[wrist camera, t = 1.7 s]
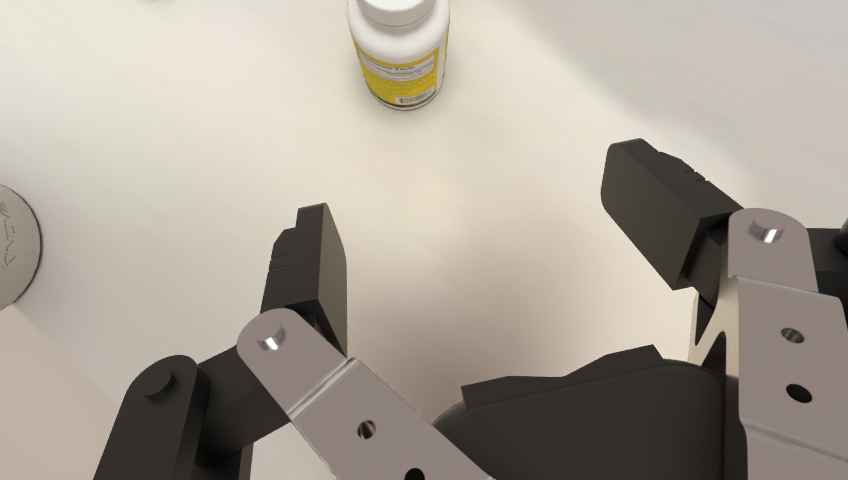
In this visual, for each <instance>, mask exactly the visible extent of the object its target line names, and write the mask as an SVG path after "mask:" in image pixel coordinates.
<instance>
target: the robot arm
mask: <svg viewBox="0 0 848 480" xmlns="http://www.w3.org/2000/svg"><path fill="white" fill-rule="evenodd" d="M601 200H602V204H603V207H604V209H605V210H606V212H607V213H608V214H609V215H610V216H611V218H612V219H613V220H614V221H615V222H616V224H617V225H618V226H619V227H620V228H621V230H622V231H623V232H624V233H625V234H626V235H627V237H628V238H629V239H630V240H631V241H632V243H633V244H634V245H635V246H636V247H637V249H638V250H639V251H640V252H641V253H642V254H643V256H644V257H645V258H646V259H647V260H648V262H649V263H650V264H651V265H652V266H653V268H654V269H655V270H656V271H657V272H658V273H659V275H660V276H661V277H662V278H663V279H664V281H665V282H666V283H667V284H668V285H669V287H670V288H671V289H672V290H673V291H674V290H678V289H683V288H688V287H692V286H693V287H694V288H695V289H696V290H697V293H696V295H695V297H694V301H693V311H692V322H691V333H690V344H689V355H688V360H687V362H684V361H679V360H671V359H663V358H662V357H661V355H660V354H659V352H658V351H657V349H656V348H655V346H654V345H653V344H652V345H648V346H643V347H639V348H634V349H630V350H625V351H620V352H616V353H611V354H607V355H605V356H603V357H601V358H599V359H597V360H595V361H593V362H591V363H589V364H587V365H585V366H584V367H582V368H580V369H578V370H576V371H574V372H572V373H570V374H568V375H566V376H563V377H529V376H506V377H502V378H497V379H493V380H488V381H484V382H479V383H474V384H470V385H465V386H461V390H462V396H463V401H462V402H460V403H458V404H456V405H454V406H453V407H451V408H450V409H448V410H447V411H446V412H444V413H443V414H442V415H441V416H440V417H439V418H438V419H436V420H435V421H434V423H433V424H432V425H431V424H430V423H429V422H428V421H427V420H426V419H424V418H423V417H422V416H421V415H420V414H419V413H418V412H417V411H415V410H414V409H413V408H412V407H411V406H410V405H409V404H408V403H407V402H405V401H404V400H403V399H402V398H401V397H400V396H399V395H398V394H397V393H395V392H394V391H393V390H392V389H391V388H390V387H389V386H388V385H386V384H385V383H384V382H383V381H382V380H381V379H380V378H379V377H378V376H376V375H375V374H374V373H373V372H372V371H371V370H370V369H369V368H367V367H366V366H365V365H364V364H363V363H362V362H360V361H359V360H358V359H356V358H351V359H350V360H348V359H347V268H346V257H345V252H344V248H343V245H342V242H341V239H340V236H339V234H338V231H337V228H336V226H335V223H334V220H333V217H332V215H331V212H330V209H329V207H328V205H327V204H326V203H321V204H317V205H312V206H307V207H302V208H299V209H298V213H297V220H296V227H295V228H290V229H285V230H283V232H282V233H281V234H280V236H279V237H278V239H277V240H276V241H275V243H274V245H273V250H272V255H271V259H272V260H270V265H269V272H268V275H267V280H266V285H265V290H264V295H263V300H262V305H261V310H260V315H258V316H257V317H255V318H254V319H252V320H251V321H250V322H249V323H248V324H247V325H246V326H245V327H244V329H243V330H242V331H241V333H240V335H239V337H238V340H237V345H235V346H234V347H232V348H230V349H228V350H226V351H224V352H222V353H220V354H218V355H216V356H214V357H212V358H210V359H208V360H206V361H204V362H201V363H199V364H197V363H196V362H195V361H194V360H193V359H191V358H190V357H188V356H184V355H174V356H170V357H167V358H164V359H161V360H159V361H157V362H155V363H154V364H152V365H151V366H149V367H148V368H146V369H145V370H144V371H143V372H142V373H140V374H139V375H138V377H137V378H136V379H135V380H134V381H133V382H132V384H131V385H130V387H129V388H128V390H127V392H126V394H125V397H124V399H123V402H122V404H121V407H120V410H119V412H118V415H117V418H116V420H115V423H114V426H113V428H112V431H111V433H110V436H109V439H108V441H107V444H106V447H105V449H104V452H103V455H102V457H101V460H100V462H99V465H98V468H97V471H96V473H95V476H94V479H93V480H250V472H251V463H252V454H253V444H254V442H255V441H257V440H259V439H261V438H262V437H264V436H266V435H268V434H270V433H271V432H273V431H275V430H277V429H279V428H280V427H282V426H284V425H286V424H288V423H289V422H291V423H292V424H293V425H294V426H295V428H296V429H297V430H298V431H299V432H300V434H301V435H302V436H303V437H304V439H305V440H306V441H307V442H308V444H309V445H310V446H311V447H312V449H313V450H314V451H315V452H316V454H317V455H318V456H319V457H320V459H321V460H322V461H323V462H324V463H325V465H326V466H327V467H328V468H329V470H330V471H331V472H332V473H333V475H334V476H335V477H336V478H337V480H848V219H847V220H846V222H845V223H844V225H843V226H842V228H841V229H828V228H805V227H804V226H803V225H802V224H801V223H800V222H798V221H797V220H795V219H794V218H792V217H790V216H788V215H786V214H783V213H780V212H777V211H773V210H769V209H762V208H747V209H744V208H743V207H742V206H740V205H739V204H738V203H737V202H735V201H734V200H733V199H731V198H730V197H729V196H728V195H726V194H725V193H724V192H722V191H721V190H720V189H718V188H717V187H716V186H715V185H713V184H712V183H711V182H709V181H705V178H704V177H703V176H702V175H700V174H699V173H698V172H694V169H692V168H691V167H690V166H689V165H687V164H686V163H685V162H683V161H682V160H681V159H679V158H676V157H674V156H671V155H668V154H666V153H663V152H658V151H657V150H656V149H655V148H653V147H652V146H651V145H650V144H648V143H647V142H646V141H645V140H643V139H641V138H638V139H633V140H628V141H623V142H619V143H614V144H612V145H610V147H609V148H608V151H607V156H606V162H605V168H604V174H603V180H602V186H601ZM39 254H40V234H39V230H38V226H37V222H36V220H35V218H34V216H33V214H32V212H31V210H30V208H29V207H28V206H27V204H26V203H25V202H24V201H23V200H22V199H21V197H19V196H18V195H17V194H15V193H14V192H13V191H11V190H10V189H9V188H6V187H4V186H2V185H0V311H1V310H2V309H4V308H5V307H7V306H8V305H10V304H11V303H13V302H14V301H15V300H16V298H17V297H18V296H19V295H20V294H21V293H22V292H23V291H24V290H25V288H26V287H27V285H28V284H29V282H30V281H31V279H32V277H33V274H34V272H35V270H36V267H37V265H38V259H39Z"/></svg>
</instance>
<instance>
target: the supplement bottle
mask: <svg viewBox="0 0 848 480" xmlns="http://www.w3.org/2000/svg"><path fill="white" fill-rule="evenodd" d="M347 19H348V24H349V28H350V32H351V35H352V38H353V41H354V45H355V48H356V51H357V54H358V58H359V61H360V64H361V67H362V71H363V74H364V77H365V80H366V83H367V85H368V87H369V89H370V91H371V92H372V94H373V95H374V96H375V97H376V98H377V99H378V100H379V101H380V102H382V103H383V104H385V105H387V106H389V107H392V108H395V109H401V110H408V109H414V108H417V107H420V106H422V105H424V104H426V103H427V102H429V101H430V100H431V99H432V98H433V97H434V96H435V95H436V93H437V92H438V90H439V89H440V87H441V84H442V81H443V77H444V70H445V61H446V51H447V41H448V31H449V22H450V3H449V0H348V1H347Z"/></svg>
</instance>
